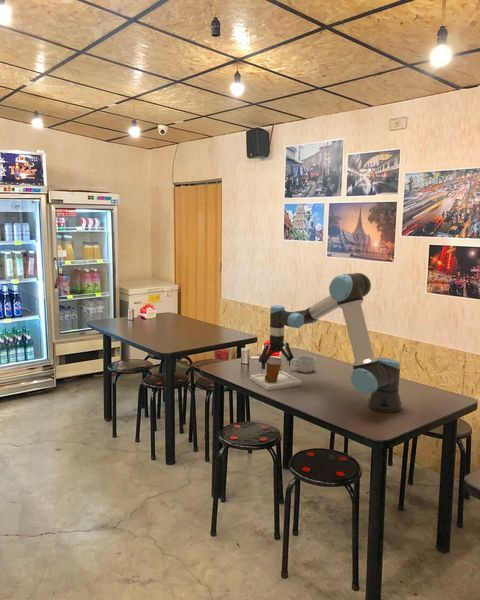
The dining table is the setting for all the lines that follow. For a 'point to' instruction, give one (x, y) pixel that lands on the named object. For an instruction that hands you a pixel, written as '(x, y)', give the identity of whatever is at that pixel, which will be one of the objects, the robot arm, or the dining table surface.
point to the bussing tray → (282, 381)
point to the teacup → (304, 363)
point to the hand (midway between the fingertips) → (275, 373)
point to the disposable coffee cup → (273, 369)
